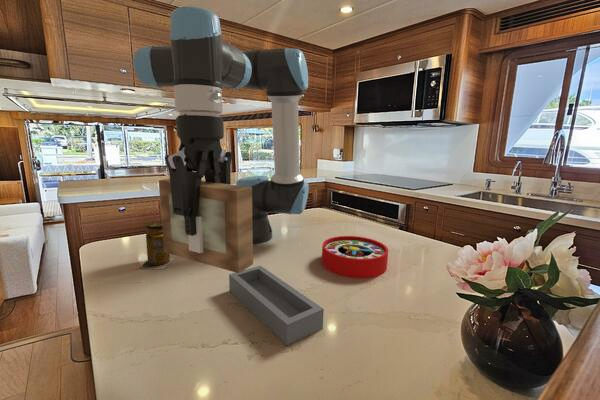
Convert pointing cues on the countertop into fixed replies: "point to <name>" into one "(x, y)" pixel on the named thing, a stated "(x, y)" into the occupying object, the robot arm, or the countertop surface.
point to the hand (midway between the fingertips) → (206, 246)
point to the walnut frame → (213, 226)
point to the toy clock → (354, 256)
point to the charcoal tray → (277, 304)
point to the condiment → (156, 248)
